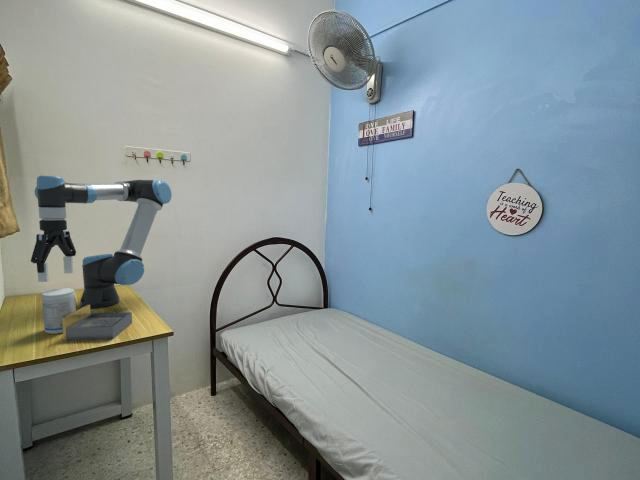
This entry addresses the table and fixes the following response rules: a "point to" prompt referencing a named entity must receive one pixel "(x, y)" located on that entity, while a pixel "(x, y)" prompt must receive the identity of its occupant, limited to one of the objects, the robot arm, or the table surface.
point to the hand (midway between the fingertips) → (56, 277)
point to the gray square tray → (94, 325)
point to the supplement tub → (57, 308)
